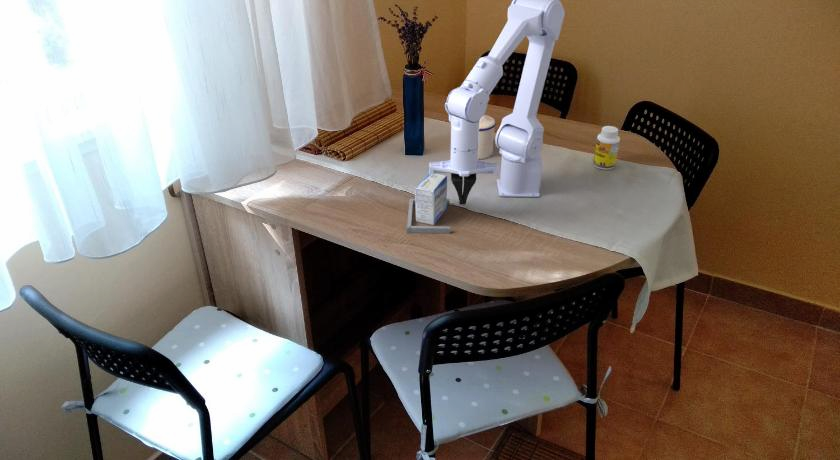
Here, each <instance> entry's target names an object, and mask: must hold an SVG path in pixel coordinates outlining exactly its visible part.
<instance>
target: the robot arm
mask: <svg viewBox="0 0 840 460" xmlns="http://www.w3.org/2000/svg"><path fill="white" fill-rule="evenodd" d="M563 6H564V5H563V4H562V2H561V1H560V0H512V1H511V3H510V5H509V6H508V8H507V22H506V23H505V25H504V27H503V28H502V30H501V32H500V34H499V36H498V38H497V39H496V41H495V43H494V44H493V46H492V48H491V50H490V51H489V52H488V55H486V56H483V57H480V58H479V59H478V60H477V62H476V63H475V65H474V66H473V68H472V69H471V70H470V72H469V73H468V75H467V76H466V78H465V79H464V81H463V82H462V83H461V85H460V86H458V87H456V88H454V89H452V90H451V91H450V92H449V93H448V96H447V98H446V102H445V104H444V108H445V111H446V113H447V114H448V121H449V123H450V159H448V160H442V161H435V162H434V161H432V162H431V161H430V162H429V164H428V165H429V169H428V174H430V175H434V174H450V178H451V180H450V181H451V182H452V185H453V186H454V189H455V191H456V193H457V196H458V202H459V205H461V206H462V205H464V206H465V205H467V200H468V198H469V195H470V192H471V190H472V188H473V186H474V185H475V184H476V181H477V174H480V175H481V174H482V175H483V174H488V175H489V174H492V175H493V176H498V175H499V170H500V176H499V178H497V179H496V184H497V185H496V186H497V192H498V197H502V198H503V197H504V198H505V197H509V198H511V197H512V198H513V197H516V198H518V197H519V198H521V197H522V198H539V197H540V190H541V182H542V174H543V159H542V155H540V153H541V152H542V149H543V145H544V140H543V137H544V132H545V128H544V126H543V125H542V123H541V122H540V121H539V119H538V118H537V114H538V110H539V106H540V102H541V99H542V95H543V90H544V87H545V81H546V79H547V74H548V70H549V67H550V62H551V59H552V55H553V51H554V47H555V43H556V42H557V41H558V40H559V38H560V37H559V36H560V34H561V30H562V25H563V21H564V17H565V15H566V14H565V13H566V11H565V9H564V7H563ZM524 38H527V40H528V48H527V53H526V55H525V56H526V57H525V60H524V65H523V68H522V73H521V78H520V80H519V81H520V82H519V86H518V90H517V94H516V99H515V102H514V106H513V110H512V112H511V113H510V114H508V115H506V116H504V117H502V120H501V123H500V125H499V127H498V129H497V131H496V133H495V136H494V139H495V140H494V141H495V142H494V143H495V146H496V147H497V148H498V149H499V154H500V155H501V160H500V161H501V162H500V163H501V164H500V165H501V166H500V169H499V163H498V162H490V161H483V160H480V159H478V141H479V120H480V119H481V118H482V116H483V115H486V114H485V113H486V111H487V108H488V104H489V101H490V95H491V93H492V92H493V90H494V89H495V87H496V85H498V83H499V81H500V79H501V78H502V77H503V75H504V70H503V65H504V64H505V63H506V61H507V60H508V59H509V57H510V56H511V55H512V54H513V53H514V52H515V50H516V48H518V46H519V45H520V44H521V43H522V41H523V40H524Z"/></svg>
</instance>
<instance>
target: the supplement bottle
mask: <svg viewBox="0 0 840 460" xmlns="http://www.w3.org/2000/svg"><path fill="white" fill-rule="evenodd" d="M618 134H619V128H618V127H616V126H613V125H605V126H603V127H602V128H601V131H600V133H599V134H598V135H597V138H596V141H595V142H596V143H595V149H594V153H593V160H592V164H593V166H594V167H595V168H597V169H598V170H602V171H607V170H608V171H609V170H612V169H614V168H615V167H616V163H617V157H618V153H619V148H620V142H621V137H620V136H619V135H618Z"/></svg>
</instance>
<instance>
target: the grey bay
mask: <svg viewBox="0 0 840 460" xmlns="http://www.w3.org/2000/svg"><path fill="white" fill-rule="evenodd" d="M450 202H451V199H450V198H447V206H450V205H451V204H450ZM414 206H416V201H415V198H412V197H411V198H409V201H408V214H407V225H406V233H409V234H413V233H414V234H451V226H443V225H442V226H440V225H439V226H438V225H437V226H436V225H429V226H428V225H412V223H413V212H414V211H413V208H414Z"/></svg>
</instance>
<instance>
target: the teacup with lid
mask: <svg viewBox="0 0 840 460" xmlns="http://www.w3.org/2000/svg"><path fill="white" fill-rule="evenodd" d="M495 127H496V121H495V118H493V117H491V115H487V114H484V115H483V116H482V118H481V119H480V120H479V141H478V160H484V159H488V158H489V157H492V155H493V154H494V143H495V142H494V141H495V140H494V139H495Z"/></svg>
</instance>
